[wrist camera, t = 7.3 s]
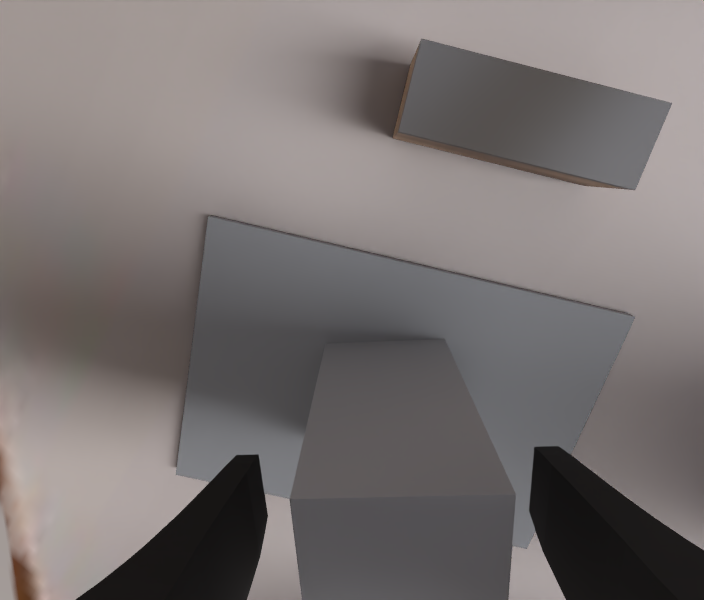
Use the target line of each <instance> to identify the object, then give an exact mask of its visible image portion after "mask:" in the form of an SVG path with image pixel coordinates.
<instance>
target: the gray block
mask: <svg viewBox="0 0 704 600" xmlns="http://www.w3.org/2000/svg"><path fill="white" fill-rule="evenodd" d="M515 501H516V493H515V491H514V489H513V487H512V484H511V482H510V480H509V478H508V476H507V474H506V471H505V469H504V467H503V465H502V463H501V461H500V458H499V456H498V454H497V452H496V450H495V447H494V445H493V443H492V441H491V439H490V437H489V434H488V432H487V430H486V428H485V426H484V423H483V421H482V419H481V417H480V415H479V413H478V410H477V408H476V406H475V404H474V402H473V399H472V397H471V395H470V393H469V391H468V389H467V386H466V384H465V382H464V380H463V378H462V376H461V373H460V371H459V369H458V367H457V365H456V362H455V360H454V358H453V356H452V354H451V352H450V349H449V347H448V345H447V343H446V341H445V339H429V340H404V341H379V342H353V343H328V344H325V348H324V352H323V357H322V361H321V365H320V370H319V374H318V378H317V383H316V387H315V391H314V396H313V400H312V404H311V409H310V413H309V417H308V422H307V426H306V431H305V435H304V439H303V444H302V448H301V452H300V457H299V461H298V465H297V470H296V474H295V478H294V483H293V487H292V491H291V496H290V506H291V514H292V522H293V530H294V538H295V546H296V554H297V562H298V570H299V578H300V586H301V594H302V600H508V595H509V582H510V568H511V555H512V541H513V528H514V514H515Z"/></svg>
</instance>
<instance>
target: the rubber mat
mask: <svg viewBox="0 0 704 600" xmlns="http://www.w3.org/2000/svg"><path fill="white" fill-rule="evenodd" d="M634 319H635V317H634V316H632V315H631V314H628V313H623V312H619V311H615V310H611V309H606V308H602V307H598V306H594V305H589V304H585V303H581V302H577V301H573V300H568V299H564V298H560V297H556V296H551V295H547V294H543V293H539V292H534V291H530V290H526V289H522V288H517V287H513V286H509V285H505V284H500V283H496V282H492V281H488V280H484V279H479V278H475V277H471V276H467V275H462V274H458V273H454V272H450V271H445V270H441V269H437V268H433V267H428V266H424V265H420V264H416V263H411V262H407V261H403V260H399V259H395V258H390V257H386V256H382V255H378V254H373V253H369V252H365V251H361V250H356V249H352V248H348V247H344V246H339V245H335V244H331V243H327V242H322V241H318V240H314V239H310V238H306V237H301V236H297V235H293V234H289V233H284V232H280V231H276V230H272V229H267V228H263V227H259V226H255V225H250V224H246V223H242V222H238V221H233V220H229V219H225V218H221V217H217V216H212V215H211V216H208V221H207V229H206V237H205V245H204V253H203V261H202V269H201V277H200V285H199V293H198V301H197V309H196V317H195V325H194V333H193V341H192V349H191V357H190V365H189V373H188V381H187V389H186V397H185V405H184V413H183V421H182V429H181V437H180V445H179V453H178V461H177V469H176V475H180V476H184V477H189V478H194V479H199V480H203V481H208V482H211V481H212V480H213V478H214V477H215V476H216V475H217V474H218V473H219V472H220V471H221V470H222V469H223V468H224V467H225V466H226V465H227V464H228V463H229V462H230V461H231V460H232V459H233V458H234V457H235V456H236V455H255V454H259V461H260V467H261V474H262V481H263V487H264V493H265V494H270V495H274V496H279V497H284V498H289V499H290V496H291V491H292V487H293V483H294V478H295V474H296V470H297V465H298V461H299V457H300V452H301V448H302V444H303V439H304V435H305V431H306V426H307V422H308V417H309V413H310V409H311V404H312V400H313V396H314V391H315V387H316V383H317V378H318V374H319V370H320V365H321V361H322V357H323V352H324V348H325V344H328V343H353V342H379V341H404V340H429V339H445V341H446V343H447V345H448V347H449V349H450V352H451V354H452V356H453V358H454V360H455V362H456V365H457V367H458V369H459V371H460V373H461V376H462V378H463V380H464V382H465V384H466V386H467V389H468V391H469V393H470V395H471V397H472V399H473V402H474V404H475V406H476V408H477V410H478V413H479V415H480V417H481V419H482V421H483V423H484V426H485V428H486V430H487V432H488V434H489V437H490V439H491V441H492V443H493V445H494V447H495V450H496V452H497V454H498V456H499V458H500V461H501V463H502V465H503V467H504V469H505V471H506V474H507V476H508V478H509V480H510V482H511V484H512V487H513V489H514V491H515V493H516V501H515V514H514V528H513V541H512V546H516V547H521V548H525V549H527V547H528V545H529V543H530V541H531V539H532V537H533V535H534V532H535V527H534V524H533V521H532V518H531V515H530V513H529V504H530V492H531V480H532V468H533V456H534V447H542V446H559V447H561V448H562V449H563V450H565V451H566V452H567V453H569V454H570V455H571V453H572V451H573V449H574V447H575V445H576V443H577V441H578V438H579V436H580V434H581V432H582V430H583V428H584V426H585V423H586V421H587V419H588V417H589V415H590V413H591V411H592V408H593V406H594V404H595V402H596V400H597V398H598V396H599V394H600V391H601V389H602V387H603V385H604V383H605V381H606V379H607V376H608V374H609V372H610V370H611V368H612V366H613V364H614V361H615V359H616V357H617V355H618V353H619V351H620V349H621V347H622V344H623V342H624V340H625V338H626V336H627V334H628V332H629V329H630V327H631V325H632V323H633V321H634Z"/></svg>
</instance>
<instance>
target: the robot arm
mask: <svg viewBox="0 0 704 600" xmlns="http://www.w3.org/2000/svg"><path fill="white" fill-rule="evenodd" d="M529 513H530V515H531V518H532V521H533V524H534V527H535V530H536V533H537V536H538V539H539V542H540V544H541V547H542V550H543V552H544V554H545V557H546V559H547V561H548V563H549V565H550V567H551V569H552V571H553V573H554V576H555V578H556V580H557V582H558V584H559V586H560V588H561V590H562V592H563V594H564V596H565V598H566V600H704V550H702V549H701V548H699V547H697V546H696V545H694V544H693V543H691V542H690V541H688V540H687V539H685V538H683V537H682V536H681V535H679V534H678V533H676V532H675V531H673V530H672V529H670V528H669V527H667V526H666V525H664V524H663V523H661V522H660V521H658V520H657V519H655V518H654V517H653V516H651V515H650V514H648V513H647V512H646V511H644V510H643V509H641V508H640V507H639V506H637V505H636V504H634V503H633V502H632V501H630V500H629V499H628V498H626V497H625V496H624V495H622V494H621V493H620V492H618V491H617V490H616V489H614V488H613V487H612V486H610V485H609V484H608V483H606V482H605V481H604V480H602V479H601V478H600V477H599V476H597V475H596V474H595V473H593V472H592V471H591V470H589V469H588V468H587V467H586V466H584V465H583V464H582V463H580V462H579V461H578V460H577V459H575V458H574V457H573V456H571V455H570V454H569V453H567V452H566V451H565V450H563V449H562V448H561V447H559V446H542V447H534V456H533V468H532V480H531V492H530V504H529ZM267 518H268V514H267V508H266V501H265V494H264V487H263V481H262V474H261V467H260V461H259V454H255V455H236V456H235V457H234V458H233V459H232V460H231V461H230V462H229V463H228V464H227V465H226V466H225V467H224V468H223V469H222V470H221V471H220V472H219V473H218V474H217V475H216V476H215V477H214V478H213V480H212V481H211V482H210V483H209V484H208V485H207V486H206V487H205V488H204V489H203V490H202V491H201V492H200V493H199V494H198V495H197V496H196V497H195V498H194V499H193V500H192V501H191V502H190V503H189V504H188V505H187V506H186V507H185V508H184V509H183V510H182V511H181V512H180V513H179V514H178V515H177V516H176V517H175V518H174V519H173V520H172V521H171V522H170V523H169V524H168V525H167V526H165V527H164V528H163V529H162V530H161V531H160V532H159V533H158V534H157V535H156V536H155V537H154V538H153V539H151V540H150V541H149V542H148V543H147V544H146V545H145V546H144V547H143V548H141V549H140V550H139V551H138V552H137V553H135V554H134V555H133V556H132V557H131V558H130V559H128V560H127V561H126V562H125V563H123V564H122V565H121V566H120V567H118V568H117V569H116V570H115V571H113V572H112V573H111V574H110V575H108V576H107V577H106V578H105V579H103V580H102V581H101V582H99V583H98V584H97V585H95V586H94V587H93V588H91V589H90V590H88V591H87V592H86V593H84V594H83V595H81V596H80V597H79V598H77V599H76V600H247V597H248V594H249V591H250V588H251V584H252V581H253V578H254V575H255V571H256V568H257V565H258V561H259V558H260V554H261V549H262V544H263V539H264V534H265V529H266V523H267Z"/></svg>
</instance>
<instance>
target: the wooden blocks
mask: <svg viewBox="0 0 704 600" xmlns="http://www.w3.org/2000/svg"><path fill="white" fill-rule="evenodd" d="M671 105H672V103H669V102H666V101H662V100H658V99H654V98H650V97H646V96H642V95H638V94H635V93H631V92H627V91H623V90H619V89H615V88H611V87H607V86H603V85H600V84H596V83H592V82H588V81H584V80H580V79H576V78H572V77H569V76H565V75H561V74H557V73H553V72H549V71H545V70H541V69H537V68H534V67H530V66H526V65H522V64H518V63H514V62H510V61H506V60H502V59H499V58H495V57H491V56H487V55H483V54H479V53H475V52H471V51H468V50H464V49H460V48H456V47H452V46H448V45H444V44H440V43H436V42H433V41H429V40H425V39H421V41H420V44H419V46H418V48H417V50H416V53H415V55H414V57H413V60H412V62H411V64H410V68H409V72H408V76H407V81H406V85H405V89H404V93H403V97H402V101H401V105H400V109H399V113H398V117H397V121H396V126H395V130H394V134H393V138H394V139H398V140H402V141H406V142H410V143H414V144H418V145H422V146H426V147H430V148H434V149H438V150H442V151H446V152H450V153H454V154H458V155H462V156H467V157H471V158H475V159H479V160H483V161H487V162H491V163H495V164H499V165H503V166H507V167H511V168H515V169H519V170H523V171H527V172H531V173H535V174H539V175H543V176H547V177H551V178H555V179H560V180H564V181H568V182H572V183H576V184H580V185H584V186H594V187H606V188H618V189H629V190H635V189H636V187H637V185H638V182H639V180H640V178H641V175H642V173H643V170H644V168H645V166H646V163H647V161H648V159H649V156H650V154H651V152H652V149H653V147H654V145H655V142H656V140H657V138H658V135H659V133H660V131H661V128H662V126H663V124H664V121H665V119H666V116H667V114H668V112H669V109H670V107H671Z"/></svg>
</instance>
